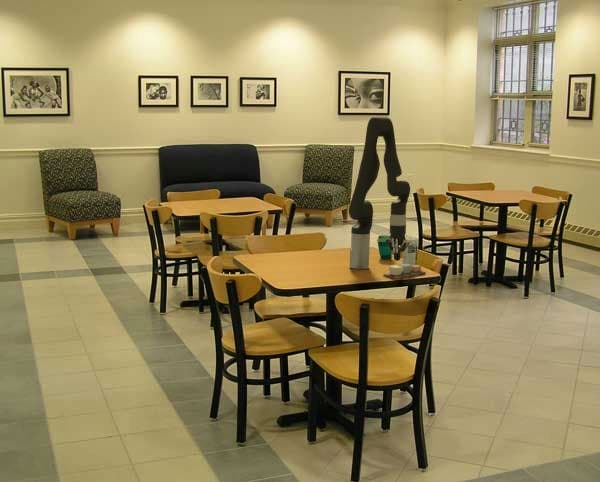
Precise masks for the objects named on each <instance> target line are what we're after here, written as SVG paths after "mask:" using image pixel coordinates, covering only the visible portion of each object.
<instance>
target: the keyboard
mask: <svg viewBox="0 0 600 482" xmlns="http://www.w3.org/2000/svg"><path fill="white" fill-rule="evenodd" d="M426 274H427V272H426V271H424V270H420V271H419V272H415V273H414V272H411V273H406V274H405V273H401V274H400V275H392V274H390V272H387V273H383V277H384V276H387V277H386V278H388V277H390V278H389V279H393V280H397V281H398V280H403V279H408V278H414V277H419V276H424V275H426Z"/></svg>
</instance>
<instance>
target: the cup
mask: <svg viewBox="0 0 600 482" xmlns="http://www.w3.org/2000/svg"><path fill="white" fill-rule="evenodd" d="M389 238H390V235H386V234H385V235H382V234H381V235H378V237H377V239H376V242H377V247H378V254H379V256H380V257H379V259H380V260H383V261H390V260H392V259H393V255H392V254H393V251H391V250H390V248H389V246H388V244H387V242H386V240H387V239H389Z"/></svg>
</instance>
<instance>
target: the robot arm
mask: <svg viewBox="0 0 600 482" xmlns="http://www.w3.org/2000/svg"><path fill="white" fill-rule="evenodd" d="M379 137H381V138H383V141H384V143H385V145H384V146H385V149H384V155H383V165H384V169H385V173H386V186H387V187H386V188H387V192H388V194H389V195H390V196H391V197H397V199H396V200H394V201H392V202H391V204H390V217H389V234H390V235H389V236H390V238H389V239H387V240H386V242H387V244H388V246H389V248H390V250H391V251H392V253H393V259H394V261H396V262H398V261H401V253H403V252H404V251H405V249H406V248H407V246H408V245H409V242H407V241H406V240H405V239H406V238H407V237H406V235H407V204H408V201H409V197H410V194H411V185H410V183H409V182H408V181H407V180H398V179H397V178H399V177H400V176H402V175H403V174H402V173H403V171H402V167H401V164H400V160H399V156H398V152H397V146H396V136H395V129H394V123H393V121H392V119H391V118H390V117H387V116H372V117H370V119H369V120H368V123H367V126H366V134H365V141H364V146H363V147H364V148H363V152H362V157H361V161H360V165H359V169H358V174H357V179H356V183H355V187H354V190H353V193H352V197H351V200H350V203H349V206H348V215H349V217H350V219H352V220H353V221H357V222H356V223H355V224H354V225H352V226H351V231H350V233H351V236H350V249H349V269H350V268H351V269H355V270H365V269H369V267H370V249H371V248H370V245H371V243H370V241H371V229H372V226H373V218H374V217H373V216H374V208H373V204H372V203H371V201H369V200H366V197H367V194H368V192H369V191H370V189H371V188H372V186H373V185H374V183H375V182H376V180H377V179H378V176H379V171H380V166H381V163H380V158H379V154H378V151H377V144H378V139H379Z"/></svg>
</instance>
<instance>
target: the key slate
mask: <svg viewBox="0 0 600 482" xmlns="http://www.w3.org/2000/svg"><path fill="white" fill-rule="evenodd" d="M397 266H402V267H403V271H402V272H401V273H405V274H406V273H411V269H412V265H409V264H402V263H401V264H397Z"/></svg>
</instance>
